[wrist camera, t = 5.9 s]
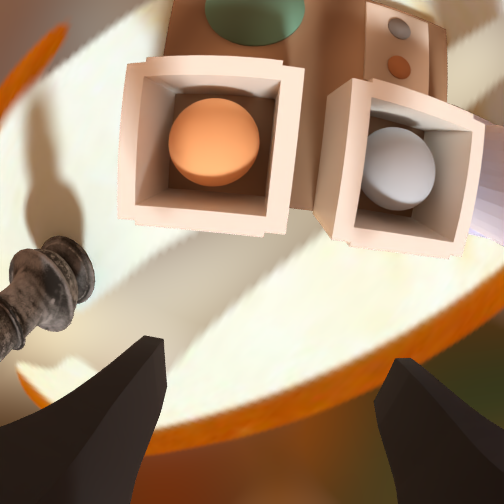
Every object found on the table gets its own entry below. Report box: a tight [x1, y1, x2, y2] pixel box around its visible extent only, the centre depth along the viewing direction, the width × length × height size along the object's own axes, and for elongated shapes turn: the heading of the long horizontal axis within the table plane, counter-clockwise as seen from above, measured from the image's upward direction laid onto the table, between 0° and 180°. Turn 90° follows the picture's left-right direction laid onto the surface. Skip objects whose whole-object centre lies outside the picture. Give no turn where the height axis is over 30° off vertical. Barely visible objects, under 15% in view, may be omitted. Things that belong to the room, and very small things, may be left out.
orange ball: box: [168, 98, 260, 187], centre depth 12 cm, size 4×4×4 cm
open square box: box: [313, 78, 485, 259], centre depth 12 cm, size 7×7×4 cm
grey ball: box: [361, 127, 435, 211], centre depth 13 cm, size 4×4×4 cm
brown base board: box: [164, 0, 447, 218], centre depth 13 cm, size 16×14×2 cm
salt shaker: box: [0, 236, 95, 362], centre depth 13 cm, size 6×6×12 cm
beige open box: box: [117, 55, 305, 237], centre depth 12 cm, size 7×7×4 cm
